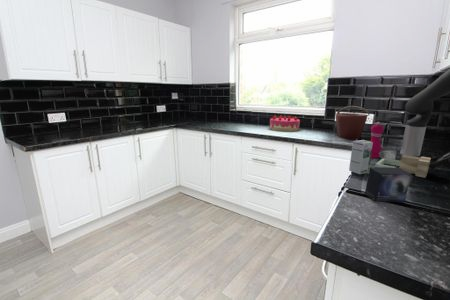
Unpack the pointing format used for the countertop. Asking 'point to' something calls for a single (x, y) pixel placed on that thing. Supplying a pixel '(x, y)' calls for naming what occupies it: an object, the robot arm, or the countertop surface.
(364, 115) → the bucket
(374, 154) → the pepper mill
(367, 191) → the small box
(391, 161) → the pocket
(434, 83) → the robot arm
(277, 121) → the cake
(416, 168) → the tee block
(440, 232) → the countertop surface
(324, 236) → the countertop surface
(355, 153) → the syrup box
